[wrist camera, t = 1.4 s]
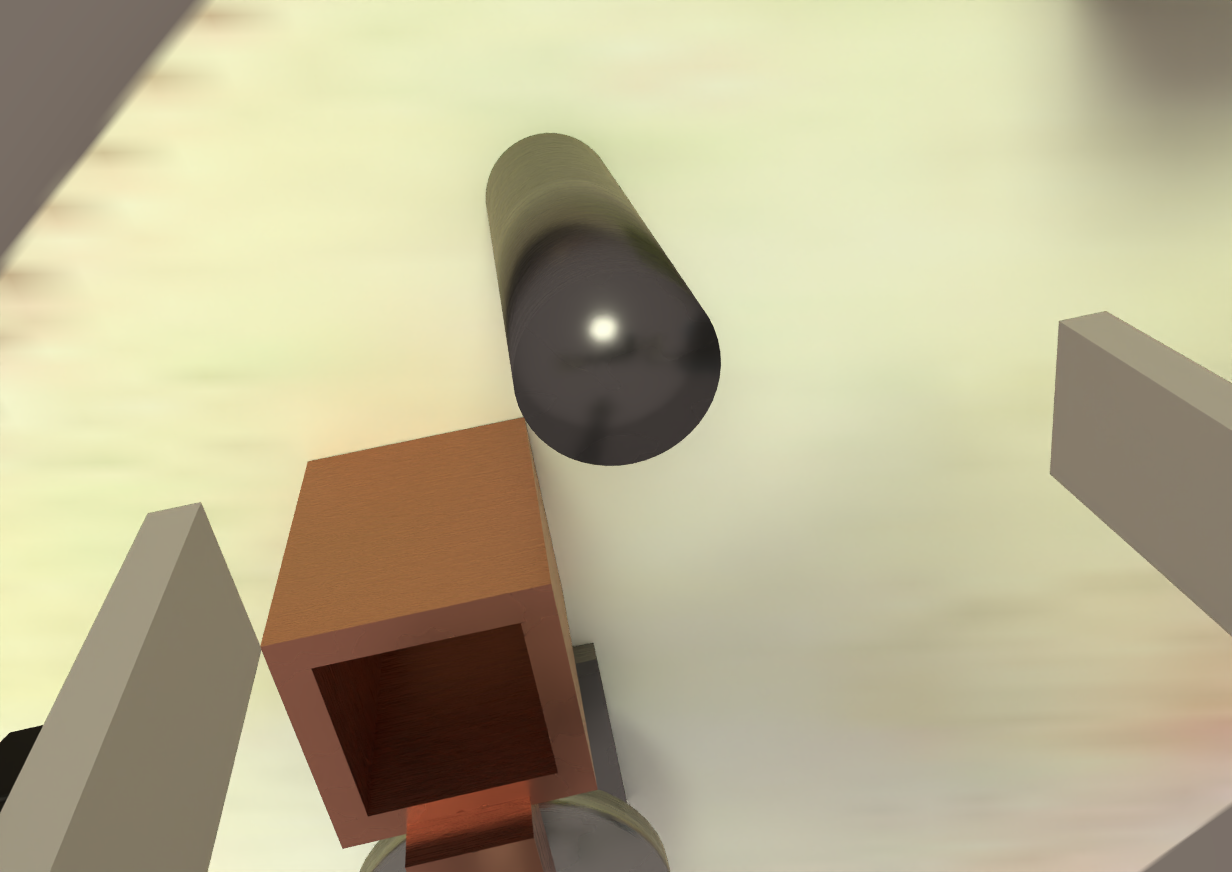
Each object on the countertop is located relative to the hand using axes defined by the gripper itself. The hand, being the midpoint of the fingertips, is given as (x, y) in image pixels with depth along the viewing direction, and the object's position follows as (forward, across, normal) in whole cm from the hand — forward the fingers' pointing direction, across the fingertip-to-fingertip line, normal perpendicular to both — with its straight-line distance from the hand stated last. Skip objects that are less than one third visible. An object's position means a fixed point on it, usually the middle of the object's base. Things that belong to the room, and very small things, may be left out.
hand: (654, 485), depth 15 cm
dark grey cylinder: (+18, 0, 0) cm, 18 cm away
